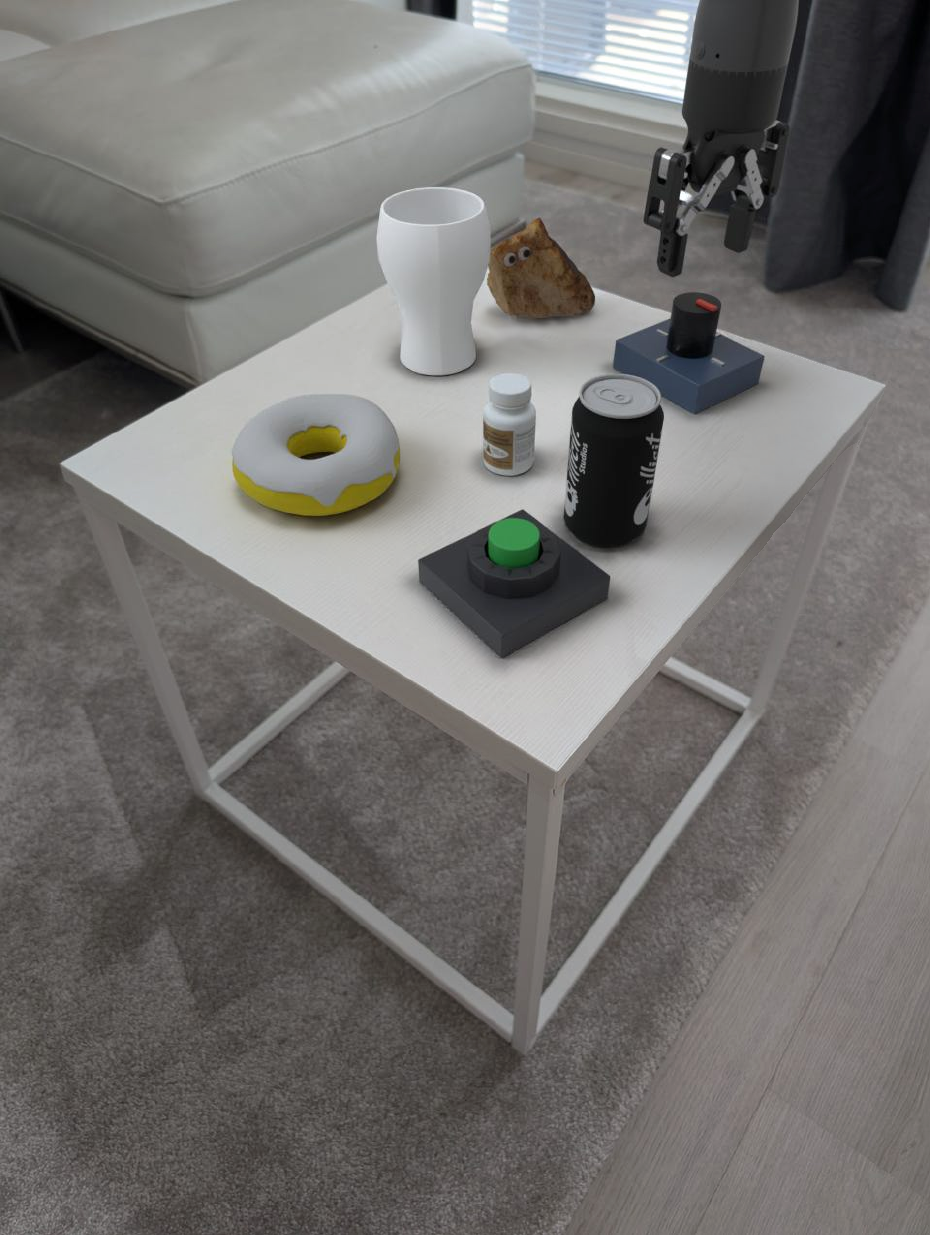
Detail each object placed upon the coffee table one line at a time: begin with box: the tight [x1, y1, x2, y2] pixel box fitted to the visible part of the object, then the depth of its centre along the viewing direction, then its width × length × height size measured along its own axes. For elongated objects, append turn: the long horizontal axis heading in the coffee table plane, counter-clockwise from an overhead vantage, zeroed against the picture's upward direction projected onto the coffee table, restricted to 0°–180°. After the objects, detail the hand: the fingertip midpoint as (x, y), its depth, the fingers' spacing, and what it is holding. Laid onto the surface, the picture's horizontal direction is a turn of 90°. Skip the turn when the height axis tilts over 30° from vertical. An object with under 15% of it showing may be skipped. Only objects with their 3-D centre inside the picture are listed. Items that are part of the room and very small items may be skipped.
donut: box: [231, 393, 401, 517], centre depth 76 cm, size 14×14×5 cm
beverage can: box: [563, 373, 665, 549], centre depth 68 cm, size 7×7×12 cm
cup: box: [375, 186, 492, 376], centre depth 87 cm, size 11×11×15 cm
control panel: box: [612, 318, 766, 415], centre depth 88 cm, size 11×9×3 cm
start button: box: [488, 518, 540, 569], centre depth 64 cm, size 4×4×2 cm
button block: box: [417, 508, 611, 658], centre depth 66 cm, size 10×10×4 cm
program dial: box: [666, 291, 722, 358], centre depth 86 cm, size 4×4×5 cm
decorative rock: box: [486, 216, 596, 319], centre depth 96 cm, size 12×6×11 cm, turn 105°
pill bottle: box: [482, 372, 537, 477], centre depth 76 cm, size 4×4×8 cm
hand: (702, 261), depth 82 cm, fingers open, 8 cm apart
